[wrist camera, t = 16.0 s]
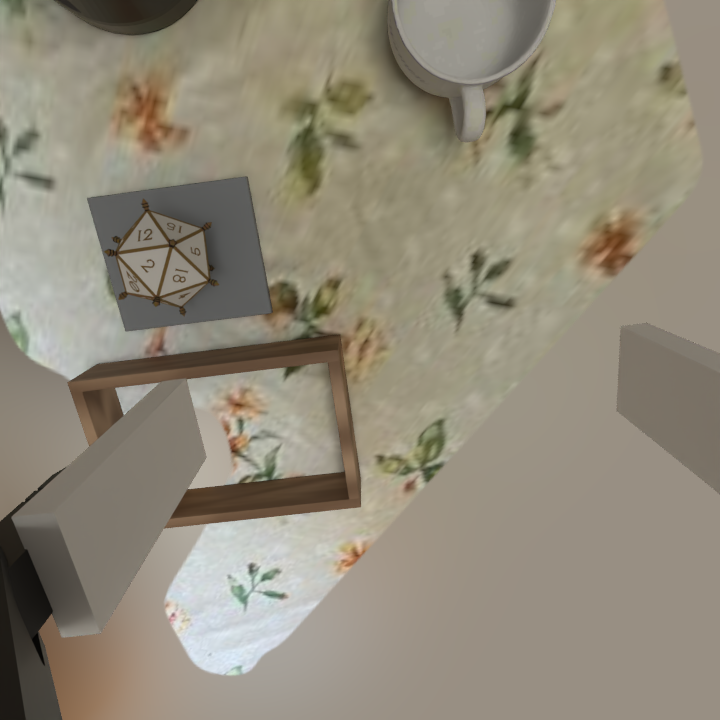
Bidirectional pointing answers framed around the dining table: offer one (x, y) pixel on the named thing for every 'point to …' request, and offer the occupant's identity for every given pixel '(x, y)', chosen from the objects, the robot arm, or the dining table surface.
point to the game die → (163, 259)
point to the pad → (224, 247)
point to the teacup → (465, 48)
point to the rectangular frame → (100, 381)
